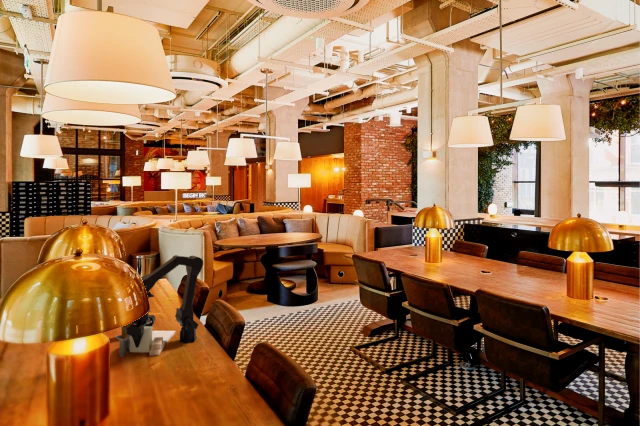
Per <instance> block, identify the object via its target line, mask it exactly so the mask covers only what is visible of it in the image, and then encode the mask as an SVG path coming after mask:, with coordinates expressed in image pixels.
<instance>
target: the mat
mask: <svg viewBox="0 0 640 426" xmlns="http://www.w3.org/2000/svg"><path fill="white" fill-rule="evenodd" d="M175 332H176V333H177V330H152V343H153V340H154V338H156V337H163V342H165V343H168V342H169V341H170V340H171V338H173V336H174V335H175V334H176V333H175Z"/></svg>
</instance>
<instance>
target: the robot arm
mask: <svg viewBox="0 0 640 426" xmlns="http://www.w3.org/2000/svg"><path fill="white" fill-rule="evenodd" d="M178 266H184V267H185V271H186V280H185V285H184V291H183V296H182V303H181V306H180V307H177V308H176V311H175V314H174V315H175V316H174V317H175V321H176V322H177V323H179V325H180V327H181V328H180V331H179V343H195V342H196V340H197V339H196V338H198V337H197V330H198V327H199V323H198V322H197V321H195V319H194V315H195V314H194V310H193V309H194V308H193V304H194V298H195V292H196V286H197V281H198V276H199V274H200V273H201V272H202V269H203V266H204V260H203V258H201V257H200V256H195V255H190V256H182V255H177V254H176V255H173V256H172V257H171V258H170V259H168V260H167V261H166V262H164V263H162V265H160V266H159V267H157V268H156V269H155V270H153V271H151V272H150V273H148V274H144V275H143V276H141V278H142V280H143V283H144V286H145V288H146V291H147V295H148V299H149V298H154V297H155V296H154V294H153V293H151V290H152V289H153V288H154V287H155V285H156V284H157V282H158V281H160V280H161V279H162V278H164V277H165V276H166V275H168V274H169V273H170V272H171V271H173V270H175V269H176V268H178ZM149 300H150V299H149ZM150 312H151V308H149V311H148V313H147V314H146V315H144V316H143V317H141V318H140V319H138V320H136V321H134V322H132V323H131V324H136V325H130V326H129V327H128V328H127V329H126V334H128V335H130V336H132V338H133V341H134V343H135V346H136V348H138V347H139V345H140V342H141V339H142V337H143V334H144V332H143V331H144V326H152V327H153V326H154V324H155V322H156V316H155V315H154V314H149V313H150Z"/></svg>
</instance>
